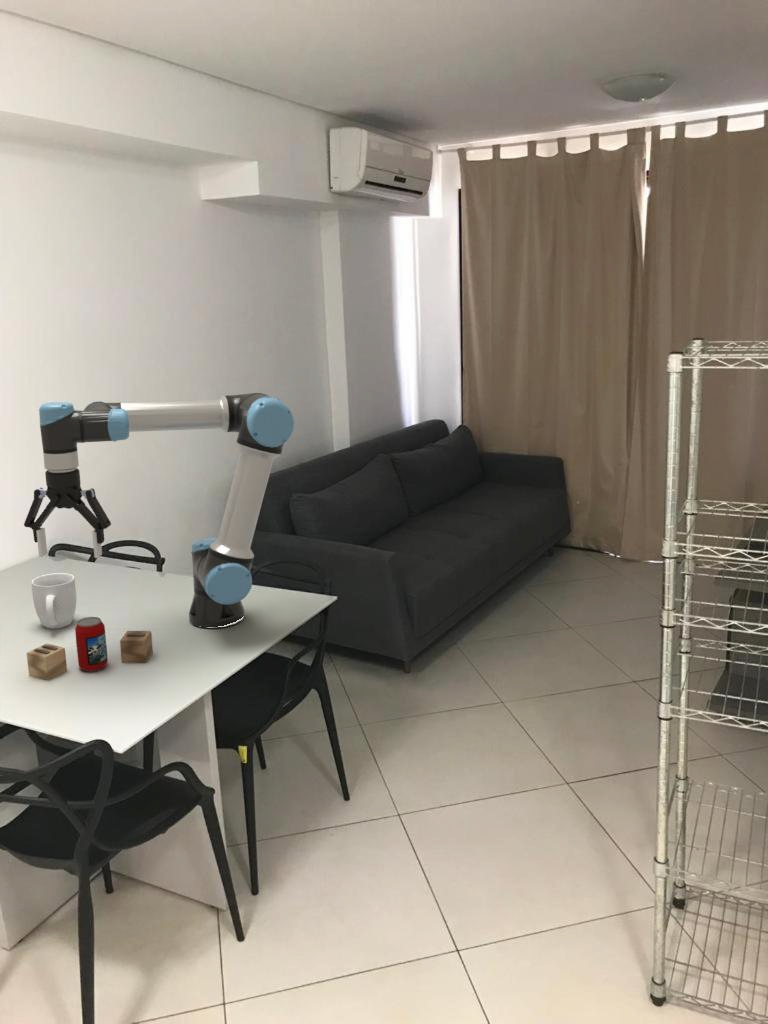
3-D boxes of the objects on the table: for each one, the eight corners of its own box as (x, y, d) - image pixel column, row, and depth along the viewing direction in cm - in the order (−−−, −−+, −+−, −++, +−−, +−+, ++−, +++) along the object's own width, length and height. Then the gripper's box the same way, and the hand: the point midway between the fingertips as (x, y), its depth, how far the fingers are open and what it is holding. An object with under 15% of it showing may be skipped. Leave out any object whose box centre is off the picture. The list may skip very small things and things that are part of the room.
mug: (74, 635, 221) (70, 589, 218) (30, 639, 218) (25, 592, 215) (81, 615, 235) (77, 571, 232) (39, 618, 233) (34, 574, 229)
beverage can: (99, 674, 199) (94, 627, 196) (73, 671, 200) (68, 625, 197) (113, 662, 205) (109, 616, 202) (88, 660, 206) (84, 614, 203)
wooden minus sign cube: (152, 652, 211) (151, 629, 209) (146, 663, 205) (144, 639, 203) (129, 652, 211) (127, 629, 209) (121, 663, 205) (119, 639, 203)
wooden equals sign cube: (67, 670, 201) (64, 646, 199) (47, 680, 196) (45, 656, 194) (48, 666, 203) (46, 642, 202) (29, 675, 198) (26, 651, 196)
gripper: (120, 466, 198) (127, 551, 203) (18, 465, 199) (28, 549, 205) (107, 473, 190) (115, 561, 196) (2, 471, 192) (12, 559, 198)
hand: (70, 555), depth 200 cm, fingers open, 13 cm apart
